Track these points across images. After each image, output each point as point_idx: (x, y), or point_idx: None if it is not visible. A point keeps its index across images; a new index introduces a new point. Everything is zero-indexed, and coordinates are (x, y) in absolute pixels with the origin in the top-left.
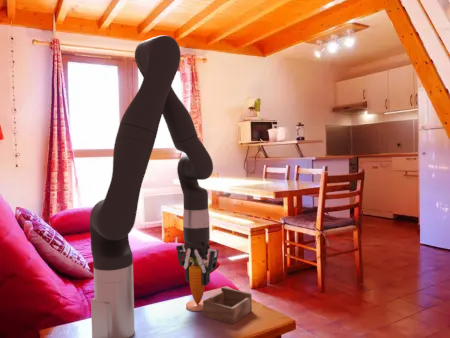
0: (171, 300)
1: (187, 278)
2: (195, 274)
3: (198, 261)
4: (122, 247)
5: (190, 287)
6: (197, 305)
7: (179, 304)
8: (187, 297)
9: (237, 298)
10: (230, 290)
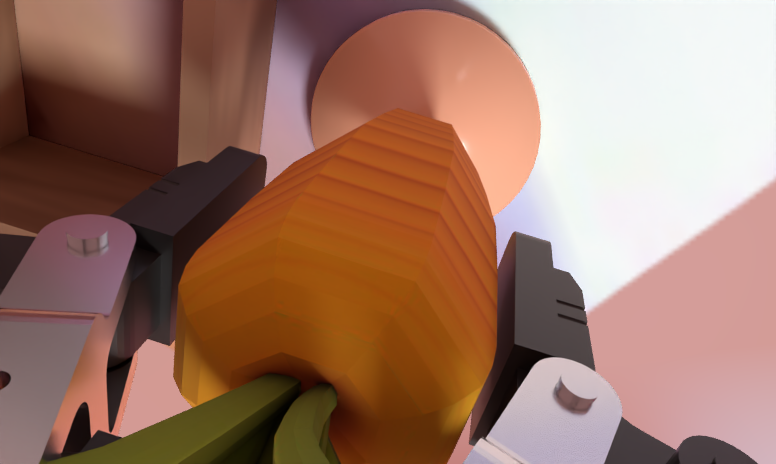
0: (740, 193)
1: (526, 255)
2: (291, 192)
3: (55, 374)
4: None
5: (460, 152)
6: (413, 104)
7: (620, 123)
8: (593, 282)
9: (55, 194)
10: None
